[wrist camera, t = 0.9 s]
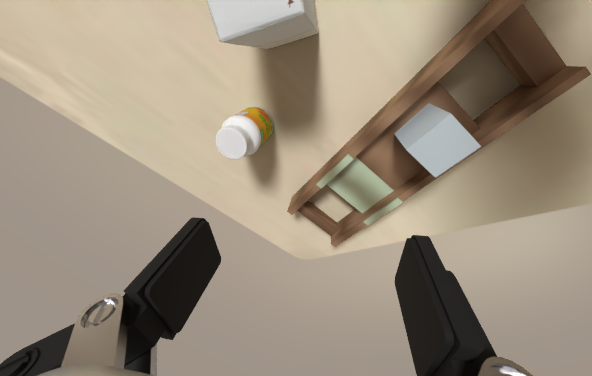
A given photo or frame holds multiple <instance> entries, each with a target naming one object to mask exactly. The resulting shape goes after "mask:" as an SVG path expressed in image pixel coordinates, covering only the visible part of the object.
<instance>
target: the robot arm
mask: <svg viewBox="0 0 592 376" xmlns="http://www.w3.org/2000/svg"><path fill="white" fill-rule="evenodd" d="M220 262H221V256H220V253H219V250H218V248H217V245H216V242H215V240H214V237H213V234H212V231H211V228H210V225H209V223H208V222H207V221H206V220H205V219H204V218H191V219H190V220H189V221H188V222H187V223H186V224H185V225H184V226H183V227H182V229H181V230H180V231H179V232H178V233H177V234H176V235H175V236H174V237H173V238H172V239H171V240H170V242H169V243H168V244H167V245H166V246H165V247H164V248H163V249H162V250H161V251H160V252H159V253H158V254H157V256H156V257H155V258H154V259H153V260H152V261H151V262H150V263H149V264H148V265H147V266H146V267H145V268H144V269H143V271H142V272H141V273H140V274H139V275H138V276H137V277H136V278H135V279H134V280H133V281H132V282H131V283H130V284H129V286H128V287H127V288H126V289H125V290H124V292H125V295H124V296H123V297H122V296H121V295H120V294H109V295H106V296H103V297H101V298H99V299H97V300H96V301H94V302H93V303H91V304H90V305H89V306H88V307H86V308H85V309H84V310H83V311H82V313H81V314H80V315H79V316H78V319H77V320H76V322H75V324H73V325H71V326H69V327H66V328H64V329H62V330H61V331H58V332H56V333H54V334H52V335H50V336H48V337H46V338H44V339H42V340H40V341H38V342H36V343H34V344H31V345H30V346H27V347H25V348H23V349H21V350H20V351H18V352H16V353H14V354H13V355H12V356H10V357H9V358H7V359H6V360H5V361H4V362H2V363H1V364H0V376H157V375H156V374H157V372H156V369H157V368H156V367H157V364H156V363H157V342H158V340H159V339H160V337H162V338H165V339H170V340H173V338H174V337H175V335H176V333H178V332H180V331H181V329H182V328H183V326H184V325H185V323H186V321H187V319H188V318H189V316H190V314H191V313H192V311H193V309H194V307H195V306H196V304H197V302H198V301H199V299H200V297H201V295H202V293H203V292H204V290H205V288H206V287H207V285H208V283H209V282H210V280H211V278H212V277H213V275H214V273H215V271H216V270H217V268H218V266H219V265H220ZM395 286H396V290H397V295H398V299H399V303H400V307H401V312H402V316H403V320H404V324H405V328H406V332H407V336H408V341H409V345H410V349H411V353H412V357H413V362H414V366H415V370H416V374H417V376H533V375H531V374H530V373H529V372H528V371H527V370H525V369H524V368H523V367H521V366H519V365H517V364H516V363H514V362H513V361H510V360H508V359H505V358H502V357H497V356H496V354H495V352H494V350H493V348H492V346H491V344H490V342H489V340H488V338H487V336H486V334H485V332H484V331H483V329H482V327H481V325H480V323H479V321H478V319H477V317H476V316H475V314H474V312H473V310H472V308H471V306H470V304H469V302H468V300H467V298H466V296H465V294H464V293H463V290H462V289H461V287H460V285H459V283H458V281H457V279H456V277H455V276H454V274H453V273H452V272H451V271H447V270H445V268H444V266H443V264H442V262H441V260H440V258H439V256H438V254H437V252H436V250H435V248H434V246H433V244H432V241H431V239H430V238H429V237H428V236H418V235H412V237H411V238H407V240H406V243H405V246H404V250H403V253H402V256H401V260H400V263H399V266H398V270H397V273H396V276H395Z"/></svg>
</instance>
